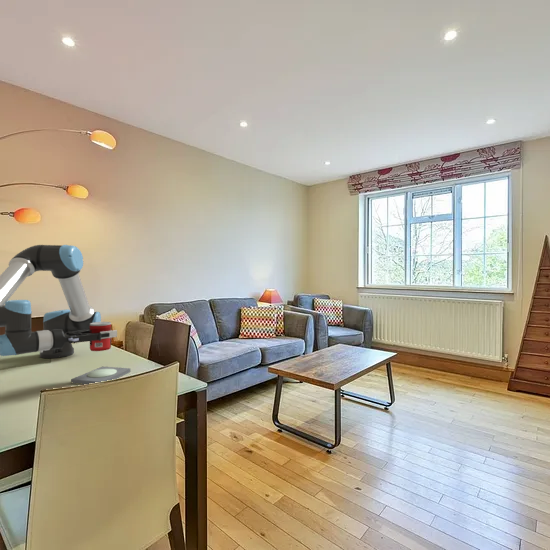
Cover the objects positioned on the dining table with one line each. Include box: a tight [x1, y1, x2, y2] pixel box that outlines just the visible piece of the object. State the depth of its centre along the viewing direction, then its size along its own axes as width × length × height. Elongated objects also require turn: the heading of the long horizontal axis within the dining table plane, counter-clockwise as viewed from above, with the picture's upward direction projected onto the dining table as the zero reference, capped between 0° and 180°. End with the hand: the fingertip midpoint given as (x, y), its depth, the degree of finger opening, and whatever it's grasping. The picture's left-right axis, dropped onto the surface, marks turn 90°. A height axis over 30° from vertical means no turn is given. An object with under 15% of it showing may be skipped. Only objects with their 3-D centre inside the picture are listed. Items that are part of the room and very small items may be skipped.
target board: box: [70, 365, 131, 385], centre depth 142 cm, size 18×14×2 cm
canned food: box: [89, 321, 112, 352], centre depth 141 cm, size 8×8×11 cm
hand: (112, 332), depth 145 cm, fingers closed on canned food, 8 cm apart
